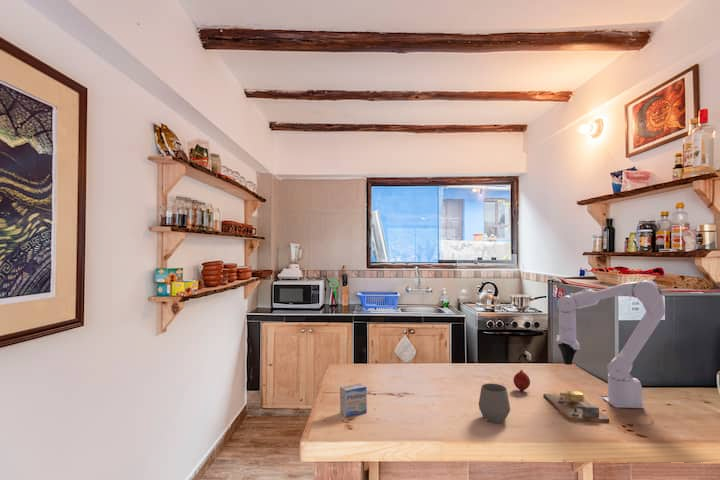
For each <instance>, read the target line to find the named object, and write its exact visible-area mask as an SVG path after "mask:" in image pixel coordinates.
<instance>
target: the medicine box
mask: <svg viewBox="0 0 720 480" xmlns="http://www.w3.org/2000/svg"><path fill="white" fill-rule="evenodd" d="M367 393H368V391H367V386H366V385H365V384H363V383H356V384H350V385H346V386H340V387H339V401H340V402H339V403H340V404H339V412H340V414H342V416H343V417H345V418H347V419H348V418H350V417H354V416H359V415H363V414H367V413H368V409H367V408H368V407H367V406H368V401H367V400H368V399H367V397H368V394H367Z"/></svg>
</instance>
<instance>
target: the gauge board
mask: <svg viewBox="0 0 720 480" xmlns="http://www.w3.org/2000/svg"><path fill="white" fill-rule="evenodd" d="M543 398H545V399H546V401H548V402H549V404H550V405H552V406H553V407H554V408H555V409H556V410H557V411H558V412H559V413H560V414H561V415H562V416H563V417H565V418H566V420H567V421H568V422H584V423H585V422H586V423H587V422H590V423H591V422H595V423H609V422H610V418H609V417H608V416H606V415H605V414H604V413H602V412H601V411H600V407H599V406H598V405H596V404H591V403H589V402H588V401H587V400H585V399H584V402H571V401H570V400H569V399H567V395H562V400H561V399H560V393H543Z"/></svg>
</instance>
